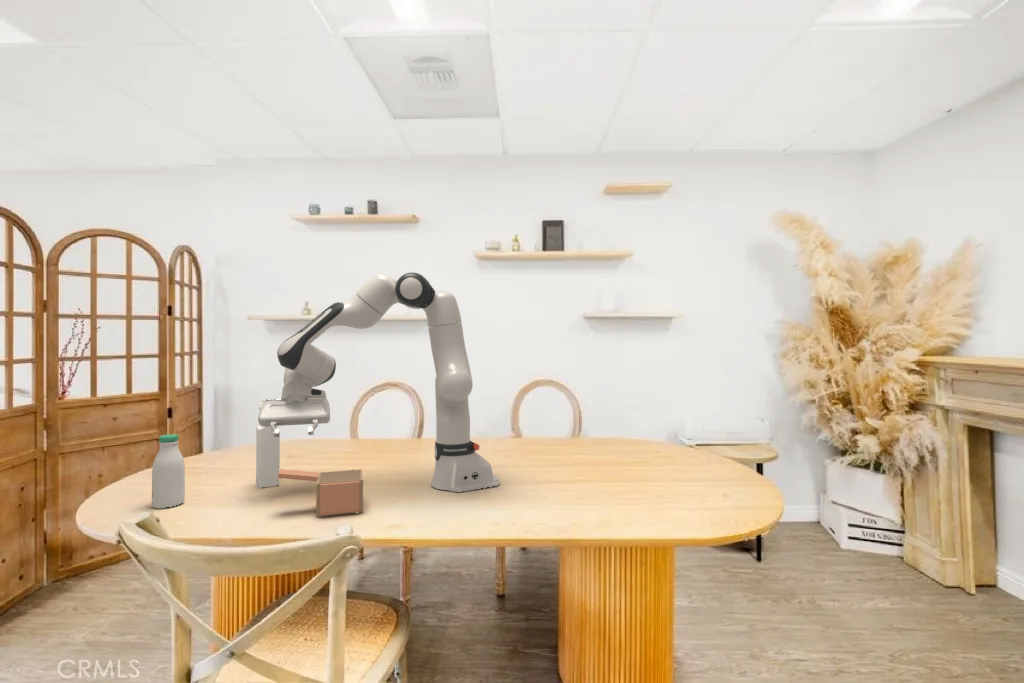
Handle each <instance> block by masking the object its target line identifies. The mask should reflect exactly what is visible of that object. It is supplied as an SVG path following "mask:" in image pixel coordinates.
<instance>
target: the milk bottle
mask: <svg viewBox="0 0 1024 683" xmlns="http://www.w3.org/2000/svg"><path fill="white" fill-rule="evenodd" d="M179 437H180V436H179V434H175V433H173V434H171V433H170V434H163V435H160V436H159V437H158V442H159V450H158V451H157V454H156V456H155V457H154V460H153V463H152V470H151V471H152V473H151V474H152V477H151V478H152V479H151V506H152V508H154V507H159V508H158V509H167V508H166V507H170V508H173V507H172V506H175V507H177V506H176V505H178V506H180V505H179V504H181V503H183V502H184V503H185V501H186V500H185V499H186V497H185V496H186V495H185V494H186V488H185V486H186V483H185V482H186V480H185V478H186V473H185V471H186V470H185V459H184V457H183V455H182V453H181V451H180V449H179V446H178V443H179ZM184 503H183V504H184ZM181 505H182V504H181Z"/></svg>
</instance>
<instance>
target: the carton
mask: <svg viewBox="0 0 1024 683" xmlns="http://www.w3.org/2000/svg"><path fill="white" fill-rule="evenodd" d="M363 476H364V475H363V469H361V468H360V469H347V470H335V471H322V472H319V473H318V478H317V481H316V486H315V490H316V491H315V492H316V496H315V497H316V498H315V500H316V501H315V506H316V508H315V510H316V513H315V514H316V516H315V517H316V518H324V517H325V518H326V517H332V516H333V517H334V516H335V517H336V516H343V515H342V514H345V515H349V514H348V513H355V514H357V513H356V512H363V513H364V477H363Z"/></svg>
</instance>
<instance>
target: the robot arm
mask: <svg viewBox="0 0 1024 683" xmlns="http://www.w3.org/2000/svg"><path fill="white" fill-rule="evenodd" d="M395 304H401V305H404V306H405V307H408V308H409V309H414V310H415V309H416V310H420V309H421V310H423V311H424V312H425V316H426V320H427V326H428V333H429V334H428V335H429V342H430V349H431V354H432V358H433V364H434V369H435V374H436V376H435V381H434V382H435V383H434V388H435V392H434V393H435V394H434V395H435V413H436V414H435V418H436V421H435V422H436V424H435V426H436V428H435V429H436V432H435V433H436V439H435V442H434V459H435V465H434V471H433V476H432V480H431V484H430V485H431V487H432V488H434V489H437V490H442V491H449V492H450V491H451V492H455V493H464V492H469V491H476V490H482V489H481V488H483V489H488V488H487V487H489V488H493V486H495V487H499V486H498V485H500V483H501V482H500V479H499V477H498V476H496V475H494V473H493V468H492V465H491V463H490V462H489V461H488V460H486V459H485V458H484V457H482V455H480V454H478V452H476V451H479V450H480V448H481V447H480V445H479V443H476V442H474V441H472V440H471V416H470V407H469V396H470V394H471V393H472V391H473V388H474V387H473V384H474V383H473V377H472V372H471V368H470V363H469V358H468V354H467V350H466V348H467V347H466V345H465V337H464V330H463V323H462V322H463V321H462V318H461V316H462V315H461V312H460V307H459V305H458V302H457V298H456V297H455V295H454V294H453V293H451V292H448V291H445V290H444V291H436V290H435V289H434V288H433V286H432V285H431V284H430V281H429V280H428V279H427V278H426V277H425V276H423V275H422V274H420V273H417V272H414V271H413V272H412V271H411V272H406V273H404V274H402V275H401V276H400V277H398V279H394V278H393V277H392V276H390V275H388V274H386V273H377V274H375V275H374V276H373V277H372V278H371V279H369V280H368V281H366V283H365V284H364V285H363V286H361V287H360V289H358V291H356V293H355V294H354V295H353V296H352V297H351V298H348V299H347V300H345V301H343V302H338V301H337V302H334V303H332V304H331V305H330V306H328V307H327V308H326V309H324V310H323V311H322V312H321V313H319V314H318V315H317V316H316V317H314V318H313V319H312V320H311V321H309V323H307V324H306V325H305V326H303V328H301V329H300V330H298V331H297V332H296V333H295V334H293V335H292V336H290V337H289V338H287V339H285V340H284V341H283V342H282V343H281V344H280V346H279V347H278V348H277V359H278V362H279V365H280V366H281V367H283V368H285V369H284V373H283V387H282V390H281V397H280V398H267V399H265V400H262V401H261V402H259V405H258V409H259V413H258V416H257V422H258V425H259V426H260V425H261V426H262V427H265V426H271V429H272V430H273V432H274V433H273V434H274V437H279V436H280V435H281V434H280V433H281V429H280V430H279V429H276V426H277V427H280V426H283V427H285V426H299V425H312V426H309V427H308V430H307V433H308V434H307V435H308V436H314V434H315V432H314V431H315V430H316V429H317V428H318V427H319V425H320V424H322V425H323V424H329V422H330V421H331V409H330V408H331V407H330V403H329V401H328V399H327V393H326V390H323V389H318V388H314V387H318V386H321V385H323V384H325V383H328V382H329V381H330V380H332V379H333V377H334V375H335V373H336V369H337V368H336V367H337V362H336V359H335V357H334V356H331V355H330V354H329V353H327V352H325V351H323V350H321V349H319V347H316V346H314V345H313V344H312V343H313V342H314V341H315V340H317V339H318V338H319V337H320V336H322V335H323V334H324V333H325V332H326V331H328V329H331V328H332V327H337V326H339V327H340V326H341V327H342V326H343V327H349V328H352V329H368V328H372V327H373V326H375V325H376V324H377V323H378V322H379V321H380V320H381V319H382V318H383V316H385V314H386V313H387V312H388V311H389V310H390V309H391V307H392V306H394V305H395ZM279 434H280V435H279ZM280 437H281V436H280ZM475 489H476V490H475ZM463 491H464V492H463Z"/></svg>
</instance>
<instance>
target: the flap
mask: <svg viewBox="0 0 1024 683" xmlns="http://www.w3.org/2000/svg"><path fill="white" fill-rule="evenodd" d="M319 473H320V472H319V471H305V470H298V469H297V470H293V469H284V468H283V469H282V468H280V471H279V473H278V478H280V479H283V480H284V479H285V480H286V479H287V480H295V481H296V480H298V481H308V482H309V481H310V482H317V479H318V475H319Z"/></svg>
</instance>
